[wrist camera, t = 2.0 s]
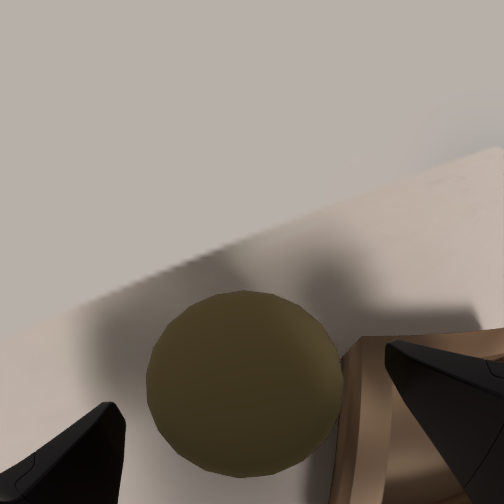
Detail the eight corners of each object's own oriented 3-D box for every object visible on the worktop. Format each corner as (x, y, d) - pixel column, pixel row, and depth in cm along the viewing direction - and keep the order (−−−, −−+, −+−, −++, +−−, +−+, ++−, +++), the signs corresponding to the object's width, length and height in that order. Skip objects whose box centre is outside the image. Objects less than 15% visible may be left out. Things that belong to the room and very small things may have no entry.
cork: (313, 352, 16) (359, 250, 7) (315, 449, 13) (378, 498, 4) (213, 352, 17) (132, 257, 7) (208, 447, 13) (101, 479, 4)
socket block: (482, 497, 8) (521, 503, 4) (321, 536, 9) (334, 567, 5) (489, 346, 14) (527, 324, 10) (342, 357, 16) (362, 336, 12)
